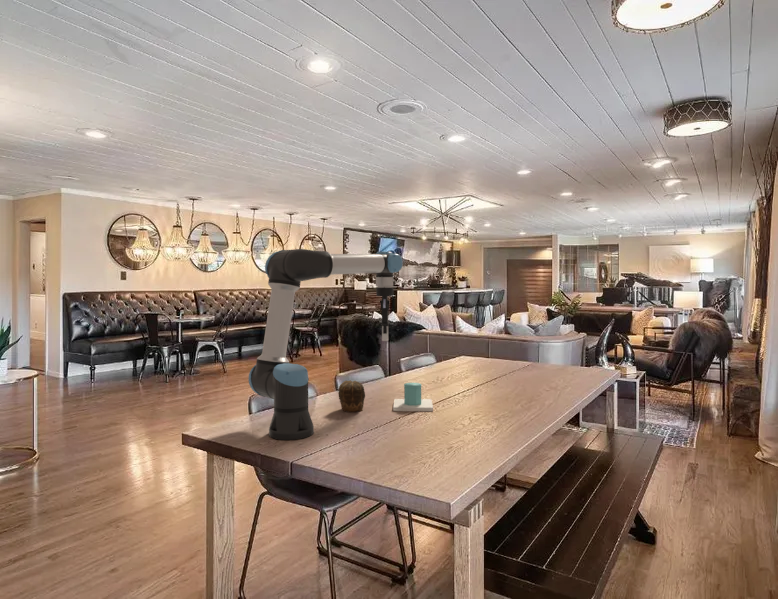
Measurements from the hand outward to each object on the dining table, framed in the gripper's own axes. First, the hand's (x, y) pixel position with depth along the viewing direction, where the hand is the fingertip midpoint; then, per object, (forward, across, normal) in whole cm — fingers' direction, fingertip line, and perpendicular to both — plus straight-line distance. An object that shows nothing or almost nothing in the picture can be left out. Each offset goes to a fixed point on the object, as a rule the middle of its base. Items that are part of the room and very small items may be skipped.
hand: (385, 340), depth 221 cm
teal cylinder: (+25, -12, -12) cm, 30 cm away
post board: (+26, -11, -12) cm, 31 cm away
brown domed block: (+27, -17, +13) cm, 34 cm away
